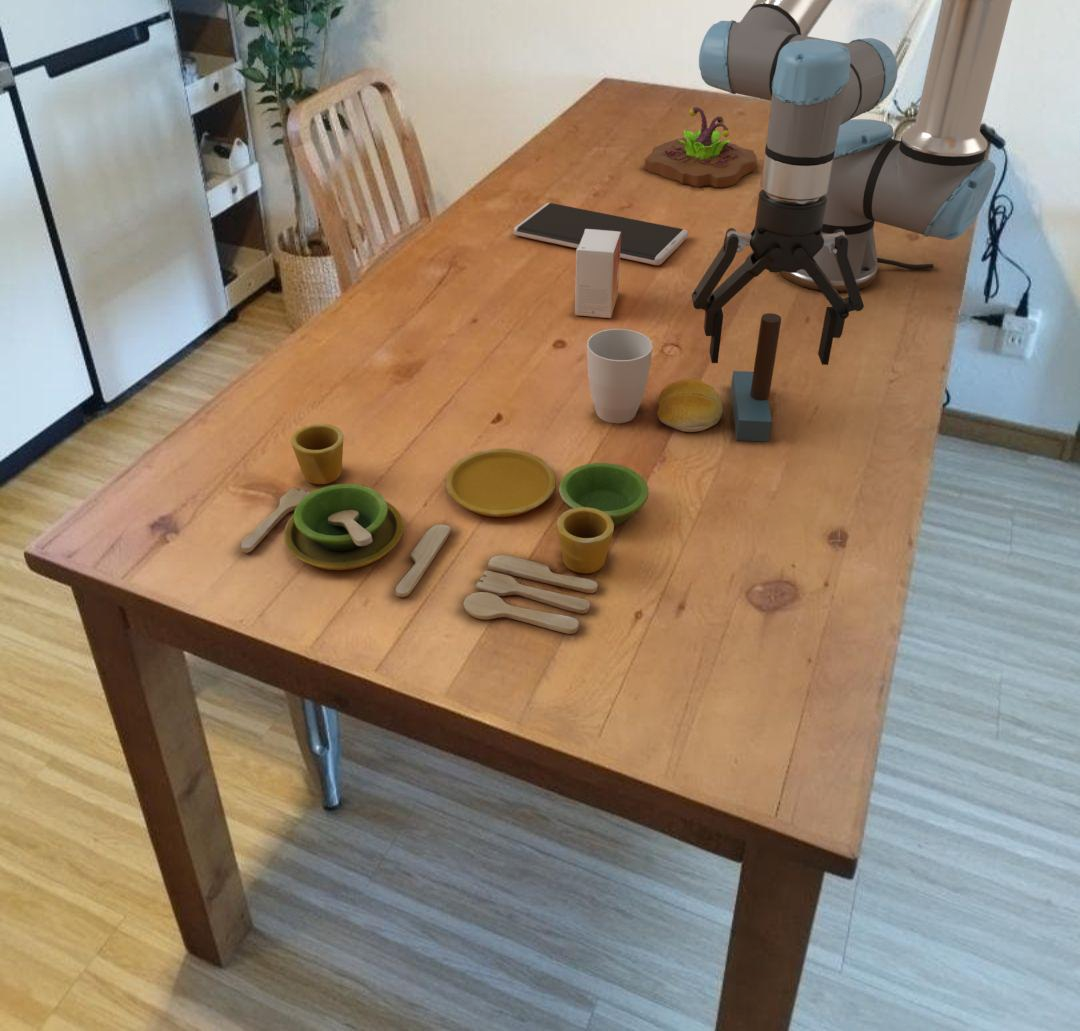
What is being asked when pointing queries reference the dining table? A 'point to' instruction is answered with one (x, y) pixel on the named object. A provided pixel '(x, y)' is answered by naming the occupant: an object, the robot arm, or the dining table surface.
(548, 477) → the tableware set
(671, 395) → the bread roll
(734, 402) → the hammer
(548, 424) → the dining table surface
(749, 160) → the plant
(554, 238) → the smartphone
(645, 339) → the cup
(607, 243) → the small box
